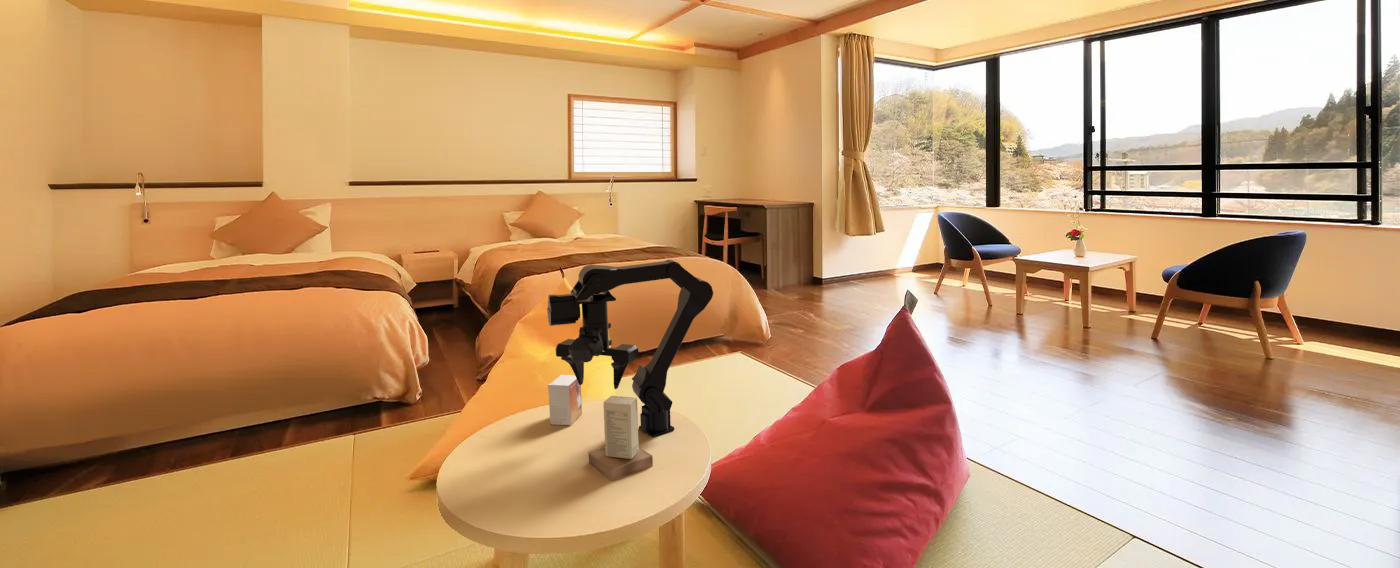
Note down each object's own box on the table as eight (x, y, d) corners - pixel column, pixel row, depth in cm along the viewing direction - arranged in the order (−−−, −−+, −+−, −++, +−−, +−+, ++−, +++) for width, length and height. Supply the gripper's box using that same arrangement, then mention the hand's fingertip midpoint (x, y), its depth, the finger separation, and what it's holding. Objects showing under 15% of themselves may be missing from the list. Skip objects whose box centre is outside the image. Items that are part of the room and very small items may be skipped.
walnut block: (628, 452, 144) (628, 439, 143) (652, 468, 136) (652, 455, 135) (589, 465, 138) (588, 452, 137) (611, 483, 130) (611, 469, 130)
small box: (571, 426, 157) (568, 385, 155) (549, 424, 158) (547, 384, 156) (583, 413, 165) (580, 375, 163) (562, 412, 166) (560, 374, 164)
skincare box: (639, 451, 137) (639, 397, 135) (631, 460, 133) (631, 404, 131) (611, 447, 139) (611, 394, 137) (603, 456, 135) (602, 401, 133)
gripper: (539, 326, 140) (544, 394, 143) (615, 333, 133) (618, 403, 136) (566, 315, 150) (570, 378, 153) (638, 320, 144) (640, 386, 147)
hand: (598, 386), depth 147 cm, fingers open, 9 cm apart
